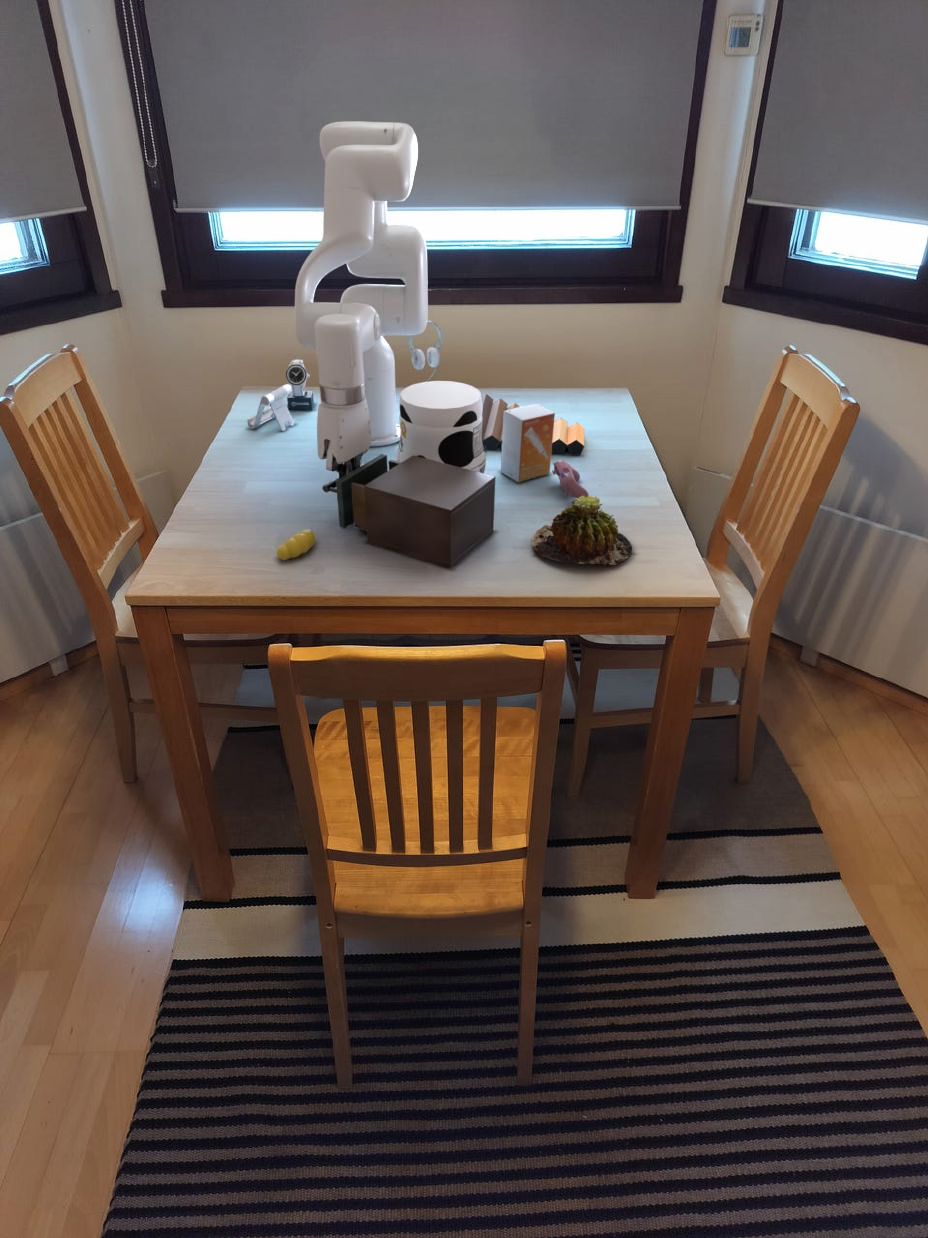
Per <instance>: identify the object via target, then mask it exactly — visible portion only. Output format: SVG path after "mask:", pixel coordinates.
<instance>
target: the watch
mask: <svg viewBox="0 0 928 1238" xmlns="http://www.w3.org/2000/svg"><path fill="white" fill-rule="evenodd" d="M308 378H310V373H308V372H307V370H306V367H305V365H304V361H303V359H292V360H291V361H290V362H289V363H288V367H287V368H286V370H285V379H286V381H287V384H289V385H290V386H291V387H292V392H291V393H290V394H288V395H287V396H286V400H287V408H288V410H289V412H291V411H295V412H296V411H303V412H304V411H313V409H314V406H315V401H314V391H312V390H307V391H306V385H307V380H308Z"/></svg>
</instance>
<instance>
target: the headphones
mask: <svg viewBox="0 0 928 1238" xmlns="http://www.w3.org/2000/svg"><path fill="white" fill-rule="evenodd" d="M427 324H430V325H433V326H434V327H435V329H436V331H437V333H438V340H437V342H436V343H434V346H431V347H428V348H427V351H426V358H425V354H424V352H423V351H422V349H420V348H419V349H418V347H417V346H413V339H414V335H408V345H409V349H408V350H409V353H410V354H411V362H412V365H413V367H414V369H415V370H423V369H424V367H425V365H426V361H427V364H428V365H429V367H431V368H434V371H433V372H432V374H431V375H430V376H429V377H428V379H426V381H425V382H429V380H430V379H431V378H432V377H433V376H434V375H435V373H436V370H437V369H436V367H438V366H439V365H440V362H441V361H440V360H441V355H440V352H439V351H441V349H442V346H443V345H442V343H443V331H442V329H441V328H440V326H439V325H438V324H437V323H436V322H434V321H431V320H429V319H428V320H427ZM414 348H415V349H414Z"/></svg>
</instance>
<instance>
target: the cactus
mask: <svg viewBox="0 0 928 1238" xmlns="http://www.w3.org/2000/svg"><path fill="white" fill-rule="evenodd" d="M579 498H580V499H578V498H575V497H574V498H573V499H575V501H574V500H571V501H570V503H571V504H572V505H570V507H568V506H567V507H565V508H564V509H563V510H561V511H560V513H558V514H556V516H554V518H552V522H551V525H548V524H545V525H543V526H542V527H541V528H539V529H538V530H536V532H535V534H534V536H532V539H531V545H532V547H533V549H534V551H535V553H536V555H538V557H540V558H547V559H550V560H552V561H556V562H560V563H574V562H575V563H576V564H578V565H584V564H591V565H593V564H594V565H597V564H598V565H600V564H601V565H602V564H603V565H604V566H606V565H607V564H608V565H612V566H614V565H615V566H617V565H618V564H619V563H621V562H624V561H625V560H626V559H628V558H630V557H631V555H632V553H633V545H632V543H631V542H630V541H629V539H628V537H626V536H625V535H624V534H622V533H620V532H619V528H618V527H619V526H618V525H617V521H616V518H615V517H614V514H613V515H610V514H609V513H606V510H602V509H603V508H601V507H602V505H604V503H603V502H600V501H601V500H600V498H599V497H597V496H593V495H589V496H588V498H587V497H585V496H581V497H579Z"/></svg>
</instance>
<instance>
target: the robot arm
mask: <svg viewBox="0 0 928 1238" xmlns="http://www.w3.org/2000/svg"><path fill="white" fill-rule="evenodd" d="M318 139H319V148H320V152H321V155H322V159H323V161H324V185H323V189H324V190H323V222H322V223H323V224H322V225H323V228H322V229H323V233H322V239H321V241H320V242H319V243H318V244H317V245H316V246H315V247H314V249H313V250H312V251H311V252H310V253H309V255H308V256H307V257H306V259H305V261H304V262H303V264H302V266H301V268H300V270H299V272H298V275H297V277H296V282H295V290H294V314H293V315H294V317H293V319H294V320H293V322H294V323H293V324H294V332H295V336H296V339H297V341H298V342H299V344H300V345H301V346H303V347H305V348H307V349H310V350H311V349H312V350H315V351H316V361H317V371H318V382H319V383H318V386H319V394H320V403H319V404H318V408H317V417H316V442H317V444H316V445H317V454H318V455H317V456H318V458H319V459H320V460H326V462H325V463H326V464H325V469H326V471H330V472H336V473H338V477H339V479H340V478H342V477H343V476H345V475H347V474H349V473H350V472H352V471H354V470H355V469H357V468H359V467H360V466H361V461H362V458H363V456H364V455H365V454H366V453H368V450H369V448H370V447H384V446H388V445H393V444H396V443H398V442H400V424H399V423H397V422H398V421H397V394H396V392H397V391H396V366H395V365H396V363H395V362H396V361H395V355H394V354H395V353H394V352H393V349H392V347H391V346H390V344H389V343H388V341H386V339H385V338H384V336H409V335H413V336H419V335H421V334H422V333H424V332H425V331H426V329H427V325H428V323H427V320H428V321H429V289H428V287H429V285H428V283H429V281H428V280H429V279H428V250H427V243H426V239H425V236H424V233H423V232H422V230H421V229H420V228H418V227H417V226H414V225H408V224H406V225H405V224H390V223H389V221H388V202H404V201H405V200H407V198H408V197H409V196H410V194H411V190H412V188H413V183H414V178H415V172H416V168H417V164H418V156H419V146H418V138H417V134H416V132H415V131H414V129H413V127H412V126H411V125H410V124H408V123H405V122H395V121H394V122H393V121H391V122H390V121H363V120H362V121H361V120H360V121H358V120H357V121H355V120H354V121H353V120H351V121H349V120H348V121H346V120H345V121H335V122H330V123H328V124H326V125H324V126H323V127H322V128H321V130H320V132H319V138H318ZM345 264H346V266H347V270H348V272H349V273H350V274H352V275H354V276H356V277H360V278H369V279H370V278H372V279H400V280H402V282H403V283H404V284H385V283H383V284H381V283H380V284H376V283H375V284H374V283H373V284H372V283H362V284H361V283H360V284H355V285H350V286H349V287H348V288H346V289H345V290H344V291H343V293H342V294H341V298H340V302H325V301H323V302H322V301H321V302H320V301H314V297H315V292H316V289H317V286H318V285H319V283H320V282H321V280H322V279H323V278H324V277H325V276H327V275H328V274H329V273H331V272H332V271H334V270H337V268H339V267H341V266H343V265H345Z"/></svg>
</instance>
